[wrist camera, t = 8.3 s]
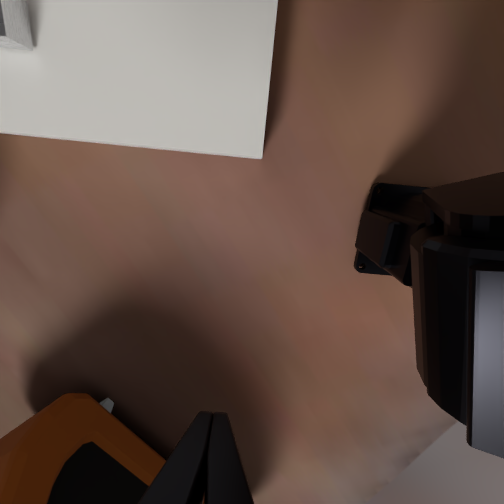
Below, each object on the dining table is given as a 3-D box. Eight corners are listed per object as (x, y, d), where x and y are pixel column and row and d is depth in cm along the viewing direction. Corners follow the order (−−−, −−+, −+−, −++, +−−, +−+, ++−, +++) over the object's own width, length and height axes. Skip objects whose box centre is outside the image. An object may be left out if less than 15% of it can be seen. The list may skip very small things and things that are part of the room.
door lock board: (279, -28, 15) (296, -156, 9) (260, 159, 18) (264, 156, 12) (-166, -82, 15) (-467, -260, 8) (-109, 122, 18) (-299, 99, 12)
